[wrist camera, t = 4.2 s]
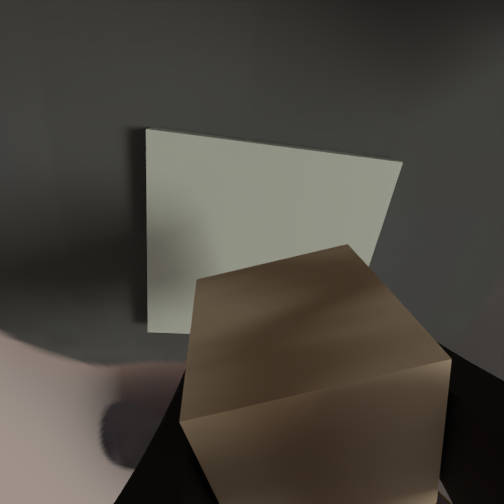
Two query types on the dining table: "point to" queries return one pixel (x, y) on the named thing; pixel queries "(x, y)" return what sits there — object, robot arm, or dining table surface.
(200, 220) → the sage tile
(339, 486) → the maple block
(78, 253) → the dining table surface
